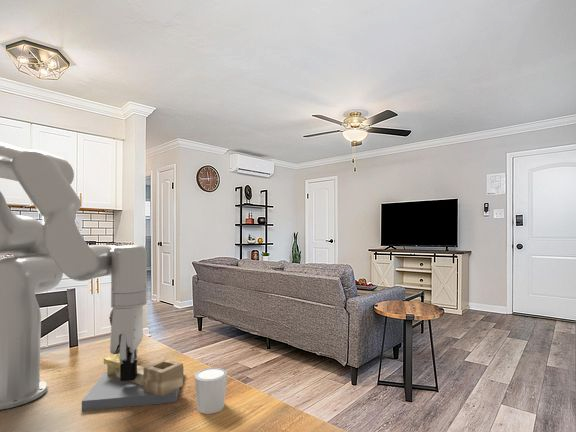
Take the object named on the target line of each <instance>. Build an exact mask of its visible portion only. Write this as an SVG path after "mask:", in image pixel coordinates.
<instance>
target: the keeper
mask: <svg viewBox="0 0 576 432" xmlns="http://www.w3.org/2000/svg"><path fill="white" fill-rule="evenodd" d="M119 356H120V353H119V354H111V353H110V354H109V355H108V356H107V357H104V358H103V364H104V365H107V369H106V370H107V371H106V372H107V375H115V374H116V368H119V367H120V361H119Z"/></svg>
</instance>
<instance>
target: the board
mask: <svg viewBox="0 0 576 432" xmlns="http://www.w3.org/2000/svg"><path fill="white" fill-rule="evenodd" d="M184 367H185V366H184V365H183V368H184ZM180 388H181V387H179V388H177V389H175V390H173V391H171V392H169V393H167V394H166V395H164V396H159V395H156V394H153V393H150V392H147V391H144V390H143V385H140V384H137V383H134V382H131V381H121V380H120V378H119V377H116V374H115V375H107V371H105V372H104V373H103V374H102V376H100V378H99V379H98V380H97V381H96V383H95V384H94V385H93V387H92V388H91V389H90V390H88V391H89V392H87V394H86V395H85V396H84V398H83V399H82V400H81V412H83V411H93V410H95V411H96V410H103V409H105V410H106V409H114V408H124V407H125V408H126V407H127V408H128V407H135V406H137V407H138V406H146V405H159V404H167V403H177V400H178V396H179V392H180Z"/></svg>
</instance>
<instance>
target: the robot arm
mask: <svg viewBox="0 0 576 432" xmlns="http://www.w3.org/2000/svg"><path fill="white" fill-rule="evenodd" d="M74 178H75V172H74V169H73V167H72V165H71V163H69V162H68V160H66V159H65V158H63V157H60V156H58V155H55V154H52V153H49V152H46V151H42V150H38V149H25V148H23V147H22V148H21V147H17V146H14V145H12V144H9V143H4V142H2V141H0V179H5V180H10V181H15V182H18V183H19V184H20V186H21V188H22V189H23V191H24V192H25V193H26V195H27V196H28V198H29V199H30V201H31V203H32V204H33V206H34V207H35V209H36V210H37V212H38V213H39V215H40V216H41V219H42V223H41V222H40V221H39V220H37V219H36V218H34V217H32V216H28V215H19V214H14V213H13V212H12V210H11V209H10V207H9V205H8V204H7V201H6V197H5V196H4V195H3V193H2V192H1V191H0V256H5V255H13V256H10V257H6V258H3V259H0V410H7V409H11V408H15V407H19V406H22V405H25V404H27V403H30V402H34V401H35V400H36V399H38V398H40V397H43V395H45V393H46V392H47V391H48V383H47V382H46V381H44V380H40V374H41V373H40V372H41V340H42V339H41V337H42V336H41V335H42V334H41V333H42V330H41V329H42V321H41V320H42V316H41V315H42V313H41V309H40V305H39V302H38V300H37V297H36V294H40V293H44V292H47V291H50V290H52V289H54V288H56V287H57V286H58V285H59V283H61V281H62V279H63V276H64V275H65V276H67V278H69V279H71V280H73V281H78V282H84V281H89V280H93V279H96V278H101V277H104V276H109V275H110V277H111V278H110V279H111V280H110V281H111V283H110V286H111V288H110V307H111V308H112V309H113V308H114V310H113V316H112V326H111V325H110V327H111V328H110V345H109V353H110V354H114V353H115V352H116V351H117V350H118V349H119V348H120V356H119V361H120V380H121V381H131V380H135V378H136V377H137V365H138V360H137V358H138V347H139V346H140V344H141V343H142V340H143V337H144V335H143V334H144V317H143V315H144V313H143V310H144V309H143V306H146V305H147V302H148V301H147V299H148V298H147V297H148V296H147V295H148V291H147V290H148V289H147V288H148V286H147V283H148V281H147V280H148V278H147V275H148V274H147V273H148V272H147V271H148V270H147V269H148V261H147V260H148V250H147V248H146V247H145V246H143V245H139V244H135V245H134V244H130V245H127V244H125V245H111V244H88V243H87V241H86V240H85V239H84V237H83V236H82V234H81V233H80V230H79V229H78V227H77V224H76V221H75V219H76V218H75V217H76V213H77V212H79V210H80V209H81V207H82V201H81V199H80V198H79V196H78V194H77V193H76V191H75V190H74V189H73V187H72V186H71V184H72V183H73V182H74Z"/></svg>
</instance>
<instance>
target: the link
mask: <svg viewBox="0 0 576 432" xmlns="http://www.w3.org/2000/svg"><path fill="white" fill-rule="evenodd" d="M183 366H184V363H182V362H179V361H175V360H172V359H167V358H164V359H161V360H158V361H156V362H154V363H153V362H152V363H150V364H148V365H146V366H144V367H143V366H141V365H138V364H137V377H136V378H135V380H131V382H134V383H137V384H140V385H143V390H144V391H147V392H150V393H153V394H156V395H159V396H164V395H166V394H167V393H169V392H171V391H173V390H175V389H177V388H179V387H180V388H181V387H183V386H184V367H183ZM116 377H119V378H120V367H119V368H116Z"/></svg>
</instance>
